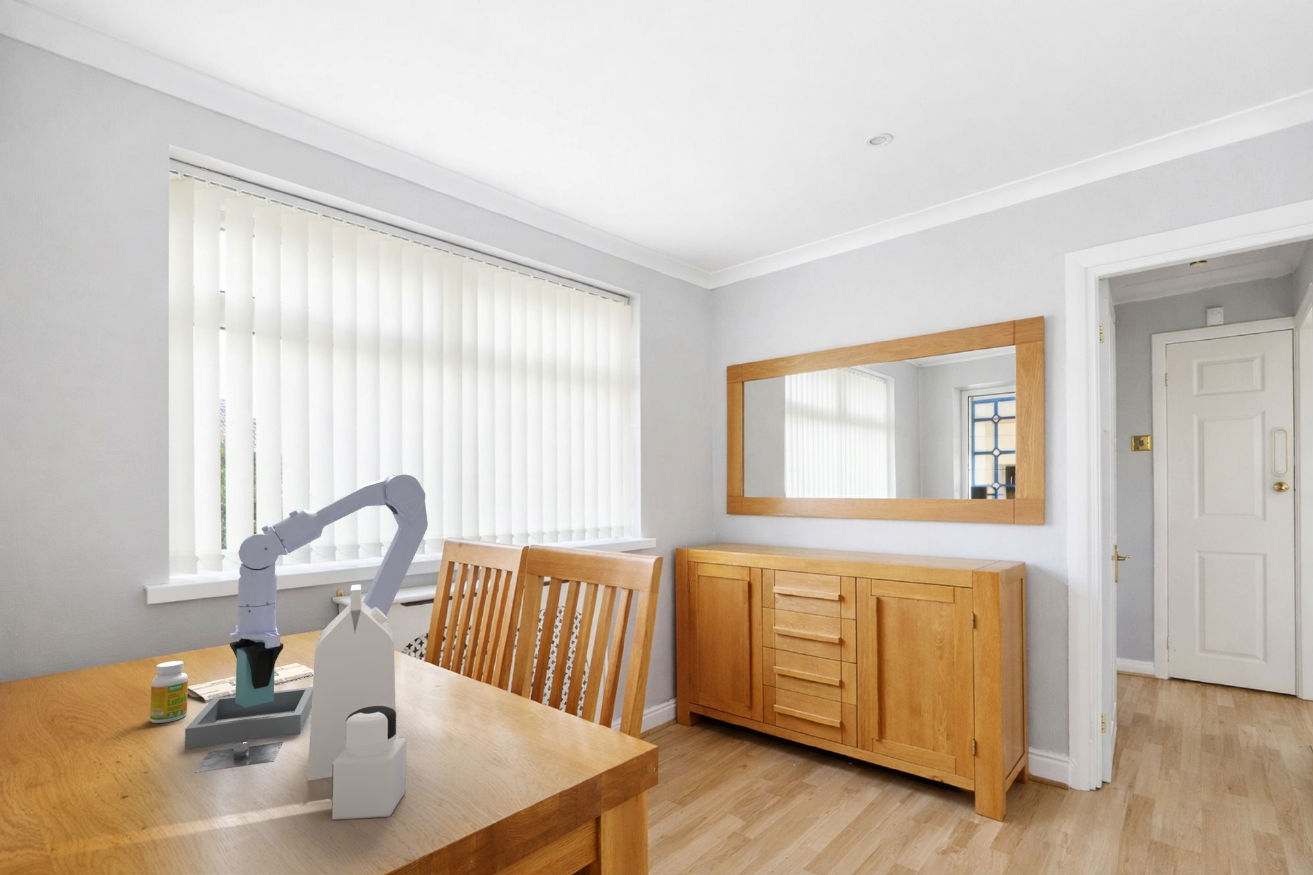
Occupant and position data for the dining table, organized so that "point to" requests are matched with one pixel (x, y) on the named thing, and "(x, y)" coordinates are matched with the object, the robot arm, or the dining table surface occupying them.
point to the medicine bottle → (369, 766)
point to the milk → (348, 678)
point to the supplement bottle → (169, 693)
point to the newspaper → (229, 684)
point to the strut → (250, 684)
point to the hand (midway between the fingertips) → (255, 684)
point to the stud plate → (239, 756)
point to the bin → (212, 733)
